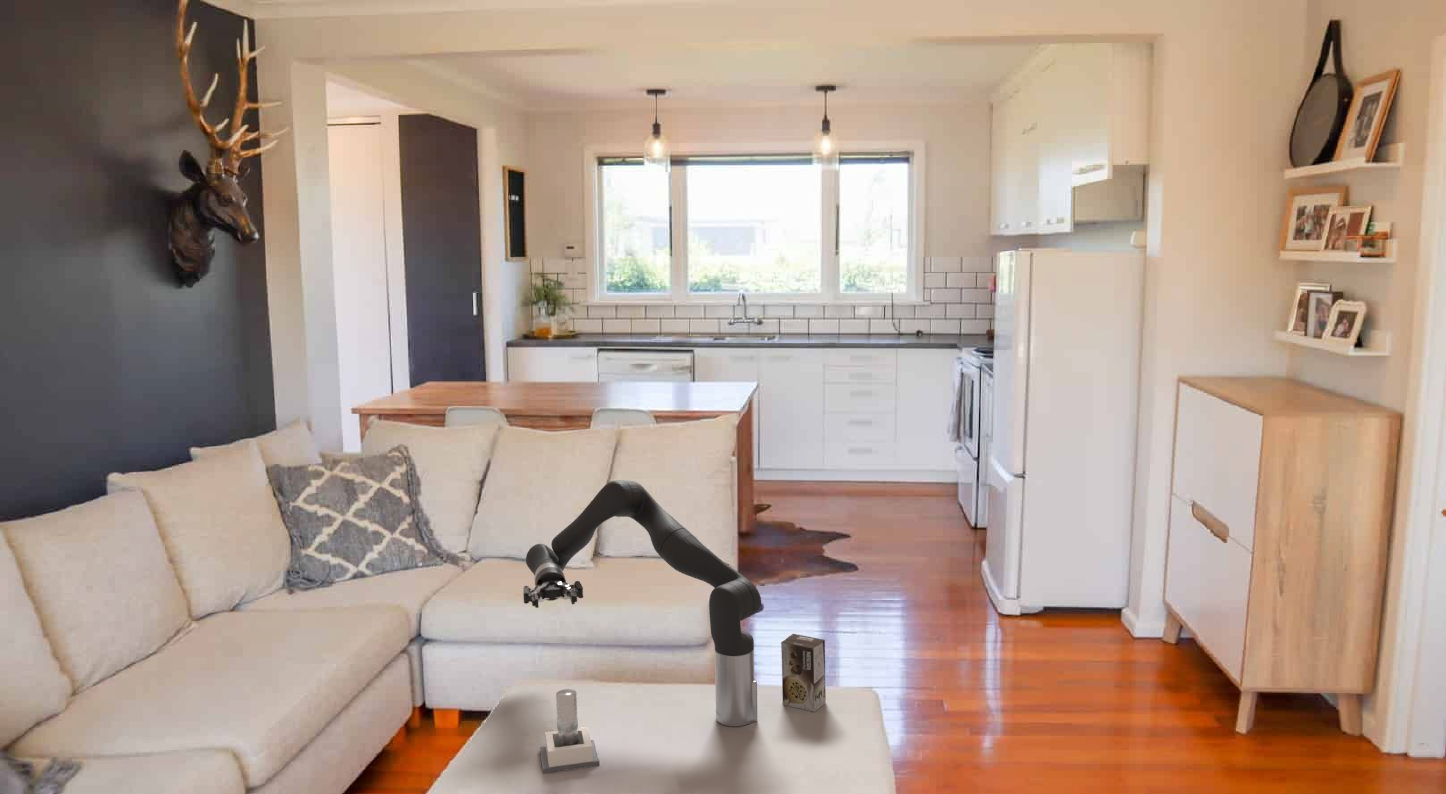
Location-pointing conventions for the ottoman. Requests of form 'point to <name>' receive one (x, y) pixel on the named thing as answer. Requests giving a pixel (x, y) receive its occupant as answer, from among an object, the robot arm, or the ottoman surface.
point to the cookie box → (803, 672)
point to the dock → (568, 752)
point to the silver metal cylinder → (567, 717)
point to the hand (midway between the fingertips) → (555, 601)
